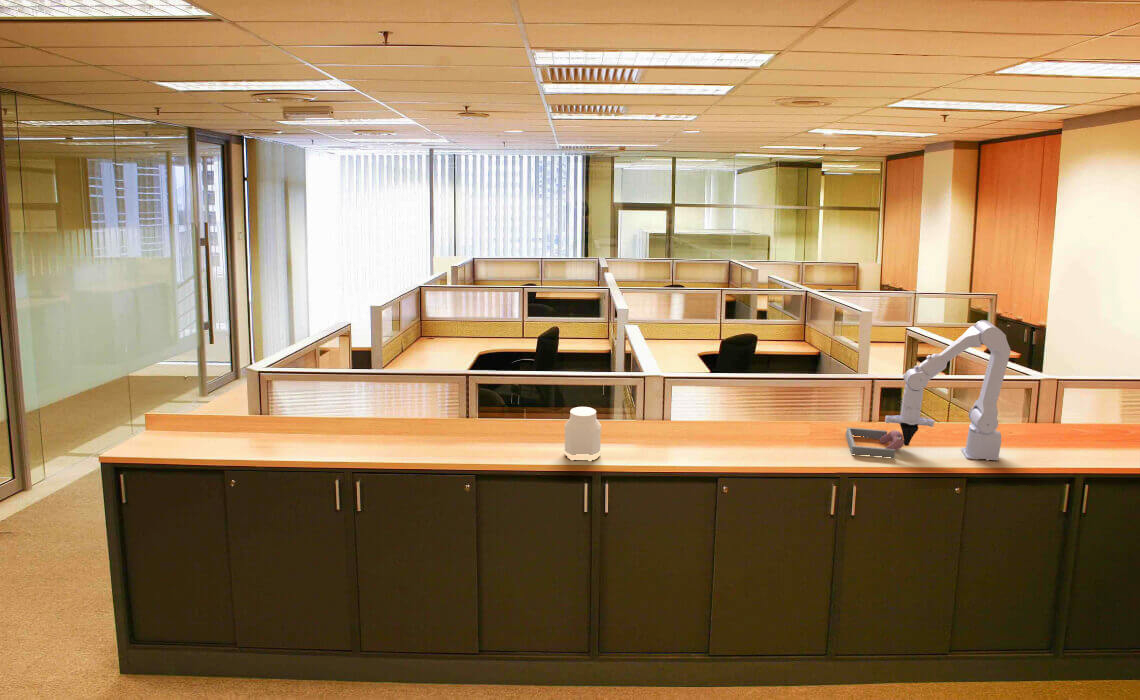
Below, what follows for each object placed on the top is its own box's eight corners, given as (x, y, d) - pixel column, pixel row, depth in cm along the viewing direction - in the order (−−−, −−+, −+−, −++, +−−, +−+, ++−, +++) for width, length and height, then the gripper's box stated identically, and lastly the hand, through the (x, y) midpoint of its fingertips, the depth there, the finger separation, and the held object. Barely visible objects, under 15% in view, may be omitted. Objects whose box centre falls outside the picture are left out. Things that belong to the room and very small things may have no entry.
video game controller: (896, 459, 264) (908, 441, 262) (883, 452, 264) (896, 435, 262) (889, 447, 274) (902, 430, 271) (877, 440, 274) (890, 423, 271)
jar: (563, 460, 256) (564, 416, 252) (565, 448, 266) (565, 405, 261) (600, 461, 256) (601, 417, 252) (600, 449, 265) (601, 406, 261)
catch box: (885, 438, 277) (886, 430, 276) (894, 459, 261) (895, 450, 260) (845, 435, 279) (846, 427, 278) (851, 455, 263) (852, 446, 262)
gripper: (889, 408, 261) (884, 447, 265) (938, 412, 258) (932, 451, 262) (886, 400, 267) (881, 439, 271) (933, 404, 265) (927, 443, 269)
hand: (906, 444), depth 267 cm, fingers closed
